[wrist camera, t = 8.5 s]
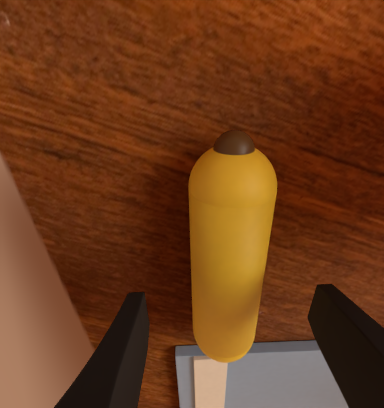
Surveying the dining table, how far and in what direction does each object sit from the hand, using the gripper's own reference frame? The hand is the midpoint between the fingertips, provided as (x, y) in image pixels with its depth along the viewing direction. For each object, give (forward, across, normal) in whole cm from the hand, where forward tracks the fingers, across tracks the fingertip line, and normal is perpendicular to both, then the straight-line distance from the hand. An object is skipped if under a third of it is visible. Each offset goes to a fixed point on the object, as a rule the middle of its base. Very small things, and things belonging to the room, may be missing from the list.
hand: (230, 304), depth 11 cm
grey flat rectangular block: (+4, -6, +16) cm, 18 cm away
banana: (+4, 0, 0) cm, 4 cm away
